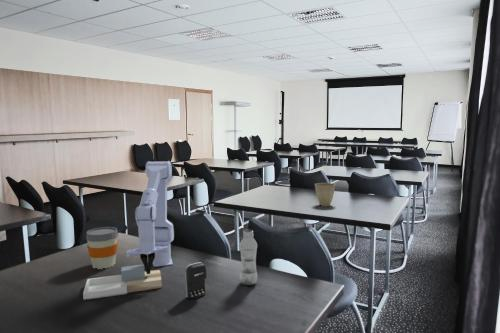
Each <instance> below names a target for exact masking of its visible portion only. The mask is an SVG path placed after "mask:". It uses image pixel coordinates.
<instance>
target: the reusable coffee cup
mask: <svg viewBox="0 0 500 333" xmlns="http://www.w3.org/2000/svg"><path fill="white" fill-rule="evenodd" d="M118 237H119V233H118V228H117V227H113V226H103V227H95V228H91V229H88V230H87V231H86V238H85V241H87V245H86V246H87V252H88V256H89V257H90V259H91V260H90V261H91V265H92V266H91V267H92V268H93V269H95V268H97V269H96V270H104V269H103V268H105V269H110V268H112V267H114V266H115V265H116V258H117V257H116V255H117V253H118V244H119V241H118ZM114 264H115V265H114ZM113 265H114V266H113ZM111 266H112V267H111Z"/></svg>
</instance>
